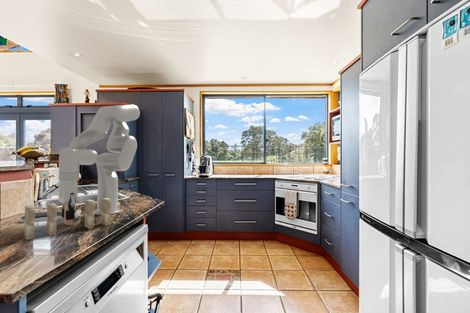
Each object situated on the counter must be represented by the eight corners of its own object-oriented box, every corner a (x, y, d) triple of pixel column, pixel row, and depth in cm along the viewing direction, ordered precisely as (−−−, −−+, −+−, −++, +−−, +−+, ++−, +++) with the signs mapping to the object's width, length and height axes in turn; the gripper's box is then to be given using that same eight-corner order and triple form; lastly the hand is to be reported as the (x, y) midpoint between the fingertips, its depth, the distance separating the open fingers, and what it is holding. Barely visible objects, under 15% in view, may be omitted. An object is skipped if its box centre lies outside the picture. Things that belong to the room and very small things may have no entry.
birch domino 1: (31, 235, 91) (32, 205, 91) (34, 238, 88) (35, 207, 88) (24, 236, 90) (25, 206, 90) (26, 239, 86) (27, 208, 86)
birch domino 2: (52, 231, 96) (53, 203, 96) (56, 234, 93) (56, 204, 93) (46, 232, 94) (47, 203, 95) (49, 235, 91) (50, 205, 91)
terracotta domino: (69, 222, 110) (69, 197, 110) (72, 224, 107) (73, 198, 107) (63, 223, 109) (64, 197, 109) (67, 225, 105) (67, 199, 106)
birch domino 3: (89, 225, 106) (90, 199, 106) (94, 227, 102) (94, 200, 103) (84, 226, 104) (85, 200, 104) (88, 228, 101) (89, 201, 101)
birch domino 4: (105, 222, 111) (106, 197, 111) (110, 224, 107) (110, 199, 107) (101, 223, 109) (101, 198, 109) (105, 225, 106) (106, 199, 106)
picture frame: (20, 224, 108) (75, 220, 117) (20, 217, 108) (75, 214, 117) (32, 216, 123) (81, 213, 131) (32, 210, 123) (81, 208, 131)
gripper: (53, 176, 111) (52, 216, 111) (64, 178, 100) (63, 223, 99) (72, 175, 117) (72, 214, 116) (85, 177, 105) (84, 220, 105)
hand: (68, 217), depth 108 cm, fingers closed on terracotta domino, 4 cm apart
